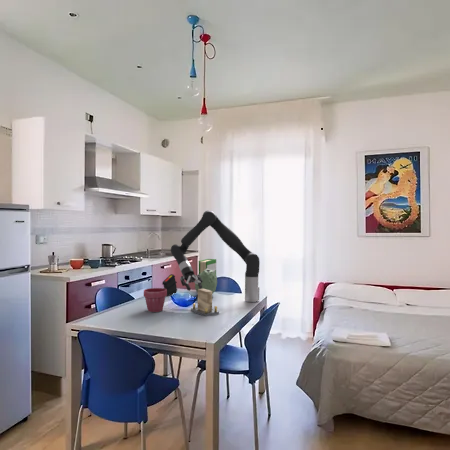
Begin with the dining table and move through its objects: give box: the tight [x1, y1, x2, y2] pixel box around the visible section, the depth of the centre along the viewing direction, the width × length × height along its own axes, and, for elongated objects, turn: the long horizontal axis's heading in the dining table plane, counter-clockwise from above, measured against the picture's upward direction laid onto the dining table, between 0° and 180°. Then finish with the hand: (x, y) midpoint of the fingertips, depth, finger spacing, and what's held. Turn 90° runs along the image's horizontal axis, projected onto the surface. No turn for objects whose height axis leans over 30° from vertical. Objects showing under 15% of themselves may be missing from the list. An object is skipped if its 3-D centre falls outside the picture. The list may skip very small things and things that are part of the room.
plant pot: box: [143, 287, 168, 313], centre depth 223 cm, size 14×14×13 cm
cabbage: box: [194, 269, 218, 295], centre depth 266 cm, size 16×19×20 cm
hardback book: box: [198, 258, 217, 275], centre depth 292 cm, size 18×7×24 cm, turn 158°
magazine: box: [161, 274, 178, 297], centre depth 270 cm, size 4×13×15 cm, turn 149°
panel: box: [197, 289, 213, 312], centre depth 220 cm, size 4×10×12 cm, turn 36°
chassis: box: [190, 302, 220, 317], centre depth 220 cm, size 10×16×4 cm, turn 36°
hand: (195, 289), depth 230 cm, fingers open, 8 cm apart
